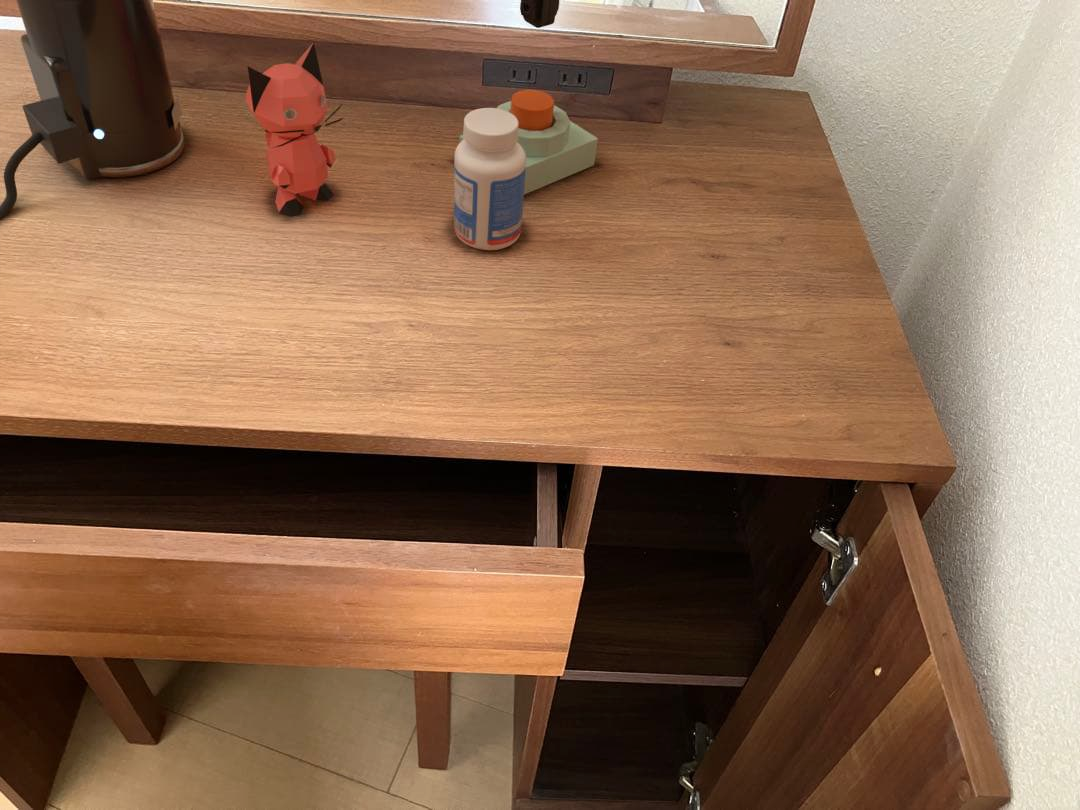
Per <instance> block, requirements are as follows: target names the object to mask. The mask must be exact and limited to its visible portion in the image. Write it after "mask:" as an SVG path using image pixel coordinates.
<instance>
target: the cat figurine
mask: <svg viewBox="0 0 1080 810" xmlns="http://www.w3.org/2000/svg"><path fill="white" fill-rule="evenodd" d="M317 54H318V53H317V50H316V46H315V42H312V43H311V45H310V46H309V47H308V48H307V49H306V50H305V52H304V53H303V54H302V55H301V56H300V58H298V60H297V61H296V62H295V63H294V64H293V63H289V62H285V63H278V64H273V65H272V66H271V67H270V68H268V69H267V70H265V71H263V72H260V71H258V70H257V69H255V68H252V67H250V66H247V74H248V81H249V83H248V87H247V90H246V93H245V95H244V101H245V102H246V104H247V105H248V107H249V109H250V111H251V112H252V113H253V115H254V116H255V118H256V120H257V121H258V122H259V124H260V126H261V127H262V129H264V132H265V133H264V134H265V140H266V143H267V147H268V150H267V153H266V162H267V168H268V176H269V178H270V180H271V181H272V183H273V184H274V185H275V186H276V187H277V192H276V196H275V201H274V203H275V206H276V208H277V211H278V213H280V214H282V215H285V216H288V217H294V216H299V215H302V212H303V210H304V207H305V206H304V204H303V203H302V202H301V201H300V199H299V198H298V196H297V195H296V194H298V195H299V196H302V197H305V198H307V199H310V200H313V201H315V202H318V201H319V202H320V201H330V200H331V199H332V198H333V197H334V196H335V194H334V193H333V192H332V190H331V189H330V188H329V186H328V184H327V183H326V181H327V180H328V179H329V176H328V174H329V173H328V167H329V168H330V169H331V168H332V166H333V164H334V163H335V161H336V155H335V151H334V150H333V149H331V148H329V147H328V146H326V145H324V144H320V142H319V141H318V139H317V136H316V134H315V133H317V132H319V131H320V129H321V128H322V126H323V125H322V122H323V120H324V119H325V116H326V114H327V111H328V103H327V98H326V92H325V86H324V82H323V77H322V73H321V68H320V64H319V60H318V59H319V58H318V55H317ZM343 103H344V101H342V102H341V103H340V105H339V106H338V107H337V108H336V109H335V110H334V111H332V113H331V114H330V115H329V116H328V117H327V118H326V119H325V120H324V123H325V125H324V126H325V127H327V126H330V125H333V124H336V123H339V122H341V121H342V120H343V119H344V118H345V115H344V116H343V117H341V118H339V119H337V120H334V121H331V122H328V123H327V121H329V119H330V118H332V117H333V116H334V114H336V113H337V112H338V111H339V110H340V109H341V108H342V105H343Z"/></svg>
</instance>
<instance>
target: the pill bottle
mask: <svg viewBox="0 0 1080 810" xmlns="http://www.w3.org/2000/svg"><path fill="white" fill-rule="evenodd" d="M462 135H463V136H464V140H463V141H461V142H460V143H459V142H458V145H457V146H456V147H455V150H454V157H453V159H454V163H453V164H454V165H453V228H454V232H455V235H456V237H457V238H458V239H459V241H461V242H462V243H463V244H465V245H467V246H469V247H471V248H474V249H477V250H482V251H497V250H502V249H506V248H508V247H509V246H511V245H513V244H515V243H516V241H518V239H519V238H520V235H521V233H522V224H523V209H524V198H525V194H524V185H525V169H526V155H525V152H524V150H523V148H522V146H521V145H520V144H519V143H518V142H517V141H518V120H517V118H516V117H515V116H514V115H513V114H511V113H510V112H508V111H505V110H502V109H497V107H481V108H476V109H474V110H470V111H469V112H467V114H466V115H465V116H464V119H463V130H462Z"/></svg>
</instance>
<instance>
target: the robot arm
mask: <svg viewBox="0 0 1080 810" xmlns="http://www.w3.org/2000/svg"><path fill="white" fill-rule="evenodd" d="M15 1H16V4H17V7H18V10H19V14H20V16H21V19H22V22H23V26H24V30H25V32H26V33H25V34H22V35H21V36H20V42H21V45H22V48H23V51H24V54H25V57H26V60H27V63H28V66H29V68H30V72H31V75H32V78H33V81H34V84H35V87H36V90H37V93H38V97H39V99H40V100H39V101H34V102H30V103H26V104H23V105H22V110H23V112H24V116H25V119H26V121H27V124H28V127H29V130H30V133H31V135H30V137H28V139H26V140H25V142H23V143H22V144H21V145H20V146H19V147H18V148H17V149H16V150H15V151H14V152H13V154H11V156H10V158H9V159H8V160H7V163H6V165H5V168H4V171H3V181H4V187H5V193H6V194H5V198H4V200H3V201H2V202H1V204H0V221H2V219H4V218H5V217H6V216H8V214H10V212H11V211H12V209H13V208H14V206H15V204H16V202H17V199H18V189H17V185H16V178H15V177H16V172H17V170H18V168H19V166H20V164H21V163H22V161H23V160H24V159H25V158H26V157H27V156H28V155H29V154H30V153H31V152H32V151H33V150H34V149H35V148H37V146H39V144H40V145H41V146H42V147H43V148H44V149H45V150H46V152H47V153H48V154H49V155H50V156H51V157H52V158H53V159H54V160H55V162H56V163H58V164H62V163H66V162H68V163H69V164H70V165H71V166H72V167H73V168H75V169H76V170H77V172H78V173H79V174H81V176H82V177H83V178H84V179H85V180H93V179H97V178H100V177H109V178H122V177H123V178H124V177H133V176H138V175H140V176H141V175H144V174H148V173H151V172H154V171H157V170H159V169H162V168H164V167H166V166H169V164H171V163H173V162H174V161H175V160H177V158H179V156H181V154H182V152H183V151H184V148H185V144H186V143H185V142H186V141H185V136H184V132H183V128H182V127H181V122H180V119H181V116H182V111H181V105H180V101H179V98H178V96H176V100H175V96H174V92H173V88H172V87H173V86H172V83H171V77H170V74H169V68H168V65H167V64H168V63H167V60H166V55H165V50H164V46H163V41H162V37H161V32H160V28H159V23H158V19H157V15H156V14H157V13H156V9H155V5H154V0H15ZM519 3H520V4H519V11H520V15H521V16H522V18H523V20H524V21H525V22H526V23H527V24H530V25H531V26H532V27H535V28H536V29H539V28H544V27H547V26H551V25H554V24H555V20H556V16H557V15H558V11H559V9H560V0H520V2H519Z"/></svg>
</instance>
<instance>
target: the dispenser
mask: <svg viewBox="0 0 1080 810" xmlns="http://www.w3.org/2000/svg"><path fill="white" fill-rule="evenodd" d="M496 108H497V109H502V110H505V111H508V112H510V113H511V100H510V101H507V102H503V103H501V104H499V105H498V106H497V107H496ZM458 140H459V141H458V144H459V143H460V142H461V141H463V140H464V136H463V134H461V135H459V139H458ZM598 141H599V138H598V137H597V136H595V135H593V134H592V133H590V132H589V131H587V130H585V129H584V128H582V127H581V126H579V125H577V124H576V123H575V122H573V121H571V120H570V119H569V117H568V114H567V112H566V111H564V110H563V109H561V108H560V107H558V106H557V105H555V104H554V109H553V118H552V125H551V127H550V128H548V129H545V130H543V131H528V130H524V129H520V128H518V141H517V142H518V143H519V144H520V145H521V146H522V148H523V150H524V152H525V155H526V169H525V185H524V195H527V194H529V193H531V192H534V191H536V190H538V189H541V188H543V187H546V186H548V185H550V184H552V183H555V182H558V181H560V180H562V179H564V178H565V179H566V178H567V177H570V176H572V175H574V174H577V173H579V172H581V171H584V170H586V169H588V168H591V167H593V166H595V161H596V155H597V149H598V143H599V142H598Z"/></svg>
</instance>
